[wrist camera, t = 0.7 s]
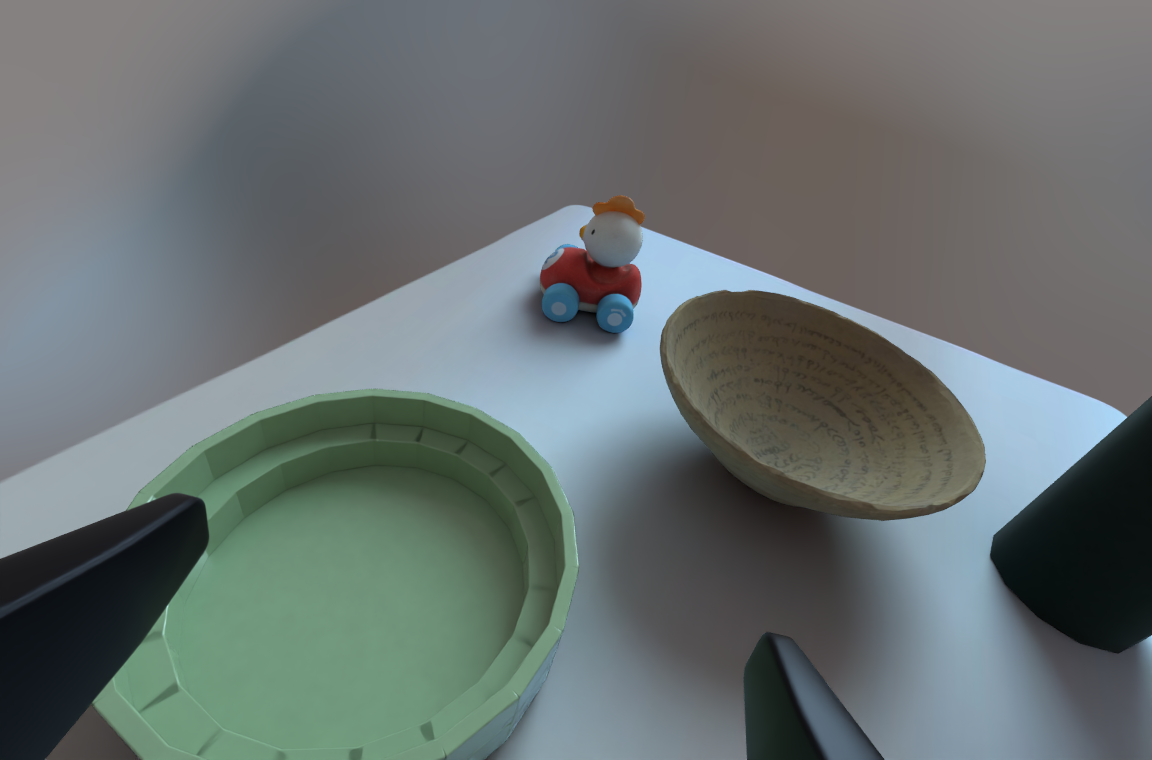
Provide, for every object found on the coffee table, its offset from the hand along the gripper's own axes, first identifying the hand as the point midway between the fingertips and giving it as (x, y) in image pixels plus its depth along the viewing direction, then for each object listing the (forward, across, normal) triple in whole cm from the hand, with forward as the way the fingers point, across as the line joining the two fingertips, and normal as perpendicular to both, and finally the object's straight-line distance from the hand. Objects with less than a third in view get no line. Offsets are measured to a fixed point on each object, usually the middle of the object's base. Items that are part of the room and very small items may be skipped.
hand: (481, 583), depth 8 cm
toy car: (+40, 0, +9) cm, 41 cm away
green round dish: (+10, +6, +14) cm, 18 cm away
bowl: (+24, -14, +12) cm, 30 cm away
